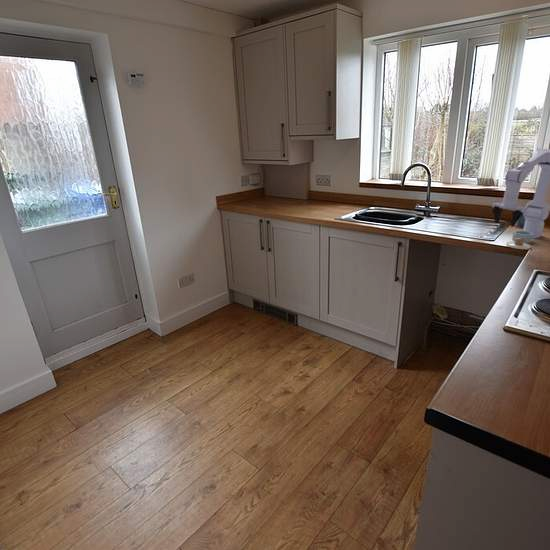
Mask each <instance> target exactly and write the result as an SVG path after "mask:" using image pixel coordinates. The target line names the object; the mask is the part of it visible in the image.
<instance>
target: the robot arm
mask: <svg viewBox="0 0 550 550" xmlns="http://www.w3.org/2000/svg"><path fill="white" fill-rule="evenodd" d="M537 165H538V167H540V168H541V170H540V173H539V177H538V181H537V184H536V188H535V190H534V191H535V192H534V196H533V199H532V200H530V201H528V202H527V203H526V205H525V207H524V206H521V205H520V206H519V205H517V203H518V200H519V195H520V191H521V187H522V183H524V181H526V178H527V177H528V175H529V174H530V173H532V172H533V170H534V168H535V167H536V166H537ZM504 185H505V190H504V193H503V198H502V202H493V203H492V205H491V207H492V210H491V211H492V213H493V215H494V223H495V224H499V223H500V218H501V215H502V212H503V210H508V211H512V218H511V223H510V227H516V226H515V224H516V222H517V220H518V219H519V218H520V216H521V215H522V214H523V215H524V217H525V219H526V221H525V225H524V228H522V229H523V230H522V231H527V232H531V233H533V236H532V240H533V239H534V240H535V239H538V238H541V236H542V237H544V234H543V231H544V226H545V220H547V218H549V215H550V204H549V203H548V202H547V201H546V197H547V194H548V190H549V187H550V148H539V147H538V148H536V149H535V150H534V152H533V153H532V157H531V158H529V160H524V161H523V162H521V163H520V164H519V165H517V166H516V167H515V168H511V169H509V170H508V171H507V172H506V175H505V184H504Z"/></svg>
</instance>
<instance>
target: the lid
mask: <svg viewBox="0 0 550 550" xmlns="http://www.w3.org/2000/svg"><path fill="white" fill-rule="evenodd" d="M505 246H506V247H508V248H512V249H516V250H530V249H531V247H532V246H531V244H530V243H524V238H516V239H515V241H507V242H506V244H505Z"/></svg>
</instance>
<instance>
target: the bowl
mask: <svg viewBox="0 0 550 550" xmlns="http://www.w3.org/2000/svg"><path fill="white" fill-rule="evenodd" d="M532 236H533V233H531V232H527V231H523V230H514V231H513V234H512V238H511V240H512V242H515V239H516V238H524V243H526V244H530V243H531V242H532V240H533V238H532Z"/></svg>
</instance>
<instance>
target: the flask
mask: <svg viewBox="0 0 550 550" xmlns="http://www.w3.org/2000/svg"><path fill="white" fill-rule="evenodd" d="M525 221H526V219H525V217H524V215H523V214H522V215H521V216H520V218H519V219H518V220H517V222H516V224H515V226H514V227H516V228H521V227H523V228H522V229H524V225H525Z"/></svg>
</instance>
